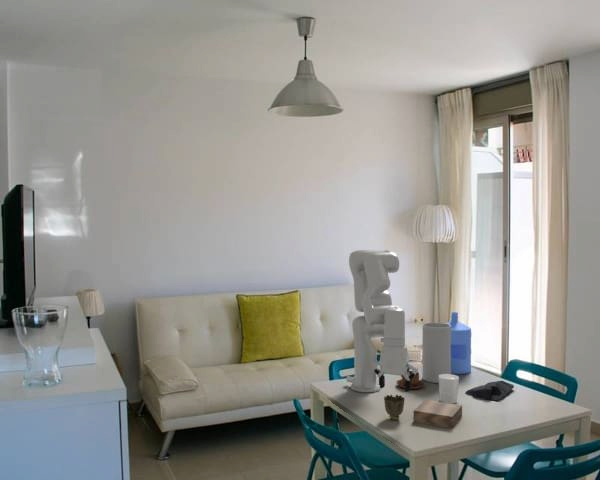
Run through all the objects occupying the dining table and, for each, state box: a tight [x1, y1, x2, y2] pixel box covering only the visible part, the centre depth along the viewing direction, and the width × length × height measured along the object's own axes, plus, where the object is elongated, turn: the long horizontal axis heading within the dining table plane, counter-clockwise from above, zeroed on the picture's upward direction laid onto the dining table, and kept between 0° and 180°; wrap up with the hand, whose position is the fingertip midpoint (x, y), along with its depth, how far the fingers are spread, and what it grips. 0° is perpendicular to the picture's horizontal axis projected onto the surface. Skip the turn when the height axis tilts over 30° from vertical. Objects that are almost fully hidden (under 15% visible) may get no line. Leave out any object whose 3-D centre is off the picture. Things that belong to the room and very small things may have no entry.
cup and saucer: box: [396, 370, 425, 390], centre depth 252 cm, size 12×12×6 cm
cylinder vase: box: [421, 322, 451, 384], centre depth 262 cm, size 12×12×25 cm
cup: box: [383, 394, 405, 421], centre depth 211 cm, size 8×7×8 cm
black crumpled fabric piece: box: [465, 380, 515, 402], centre depth 243 cm, size 15×22×5 cm
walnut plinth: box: [413, 399, 463, 429], centre depth 211 cm, size 14×14×4 cm
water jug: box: [444, 311, 472, 375], centre depth 278 cm, size 16×16×28 cm
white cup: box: [438, 374, 460, 404], centre depth 231 cm, size 8×8×10 cm
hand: (394, 389), depth 210 cm, fingers open, 9 cm apart
